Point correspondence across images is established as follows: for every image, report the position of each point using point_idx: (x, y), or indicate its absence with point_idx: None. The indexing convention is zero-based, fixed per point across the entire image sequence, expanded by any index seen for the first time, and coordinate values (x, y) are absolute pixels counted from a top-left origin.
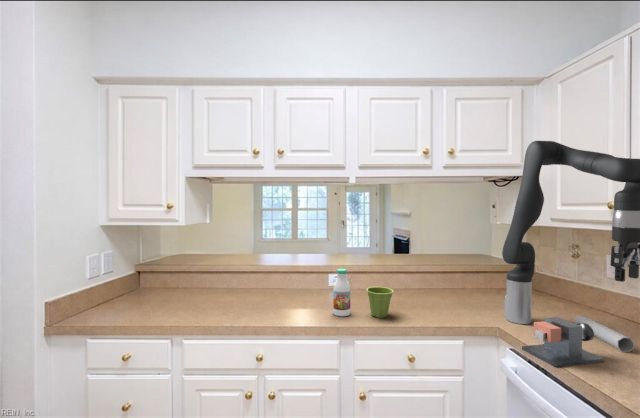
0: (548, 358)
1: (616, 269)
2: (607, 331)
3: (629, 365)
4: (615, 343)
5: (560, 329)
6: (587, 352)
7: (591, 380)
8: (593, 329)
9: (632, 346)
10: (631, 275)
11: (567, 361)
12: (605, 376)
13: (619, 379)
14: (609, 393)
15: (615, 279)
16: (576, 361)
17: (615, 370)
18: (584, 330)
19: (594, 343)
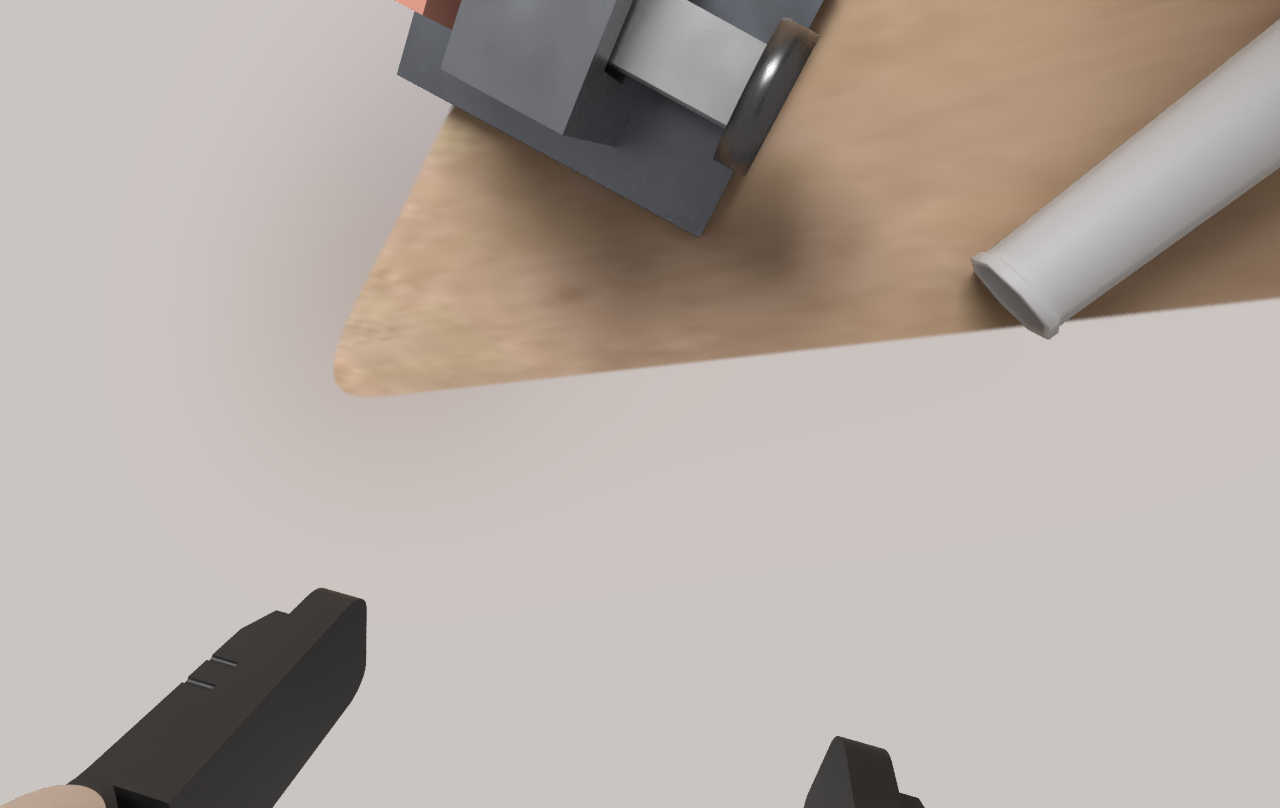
0: None
1: (87, 784)
2: (1156, 174)
3: (755, 336)
4: (1003, 244)
5: (420, 13)
6: None
7: (415, 248)
8: (1258, 49)
9: (1038, 324)
10: (830, 797)
11: (486, 109)
12: (513, 281)
13: (532, 330)
14: (360, 325)
15: (314, 598)
16: (529, 144)
17: (627, 300)
18: (710, 117)
19: (1029, 113)
